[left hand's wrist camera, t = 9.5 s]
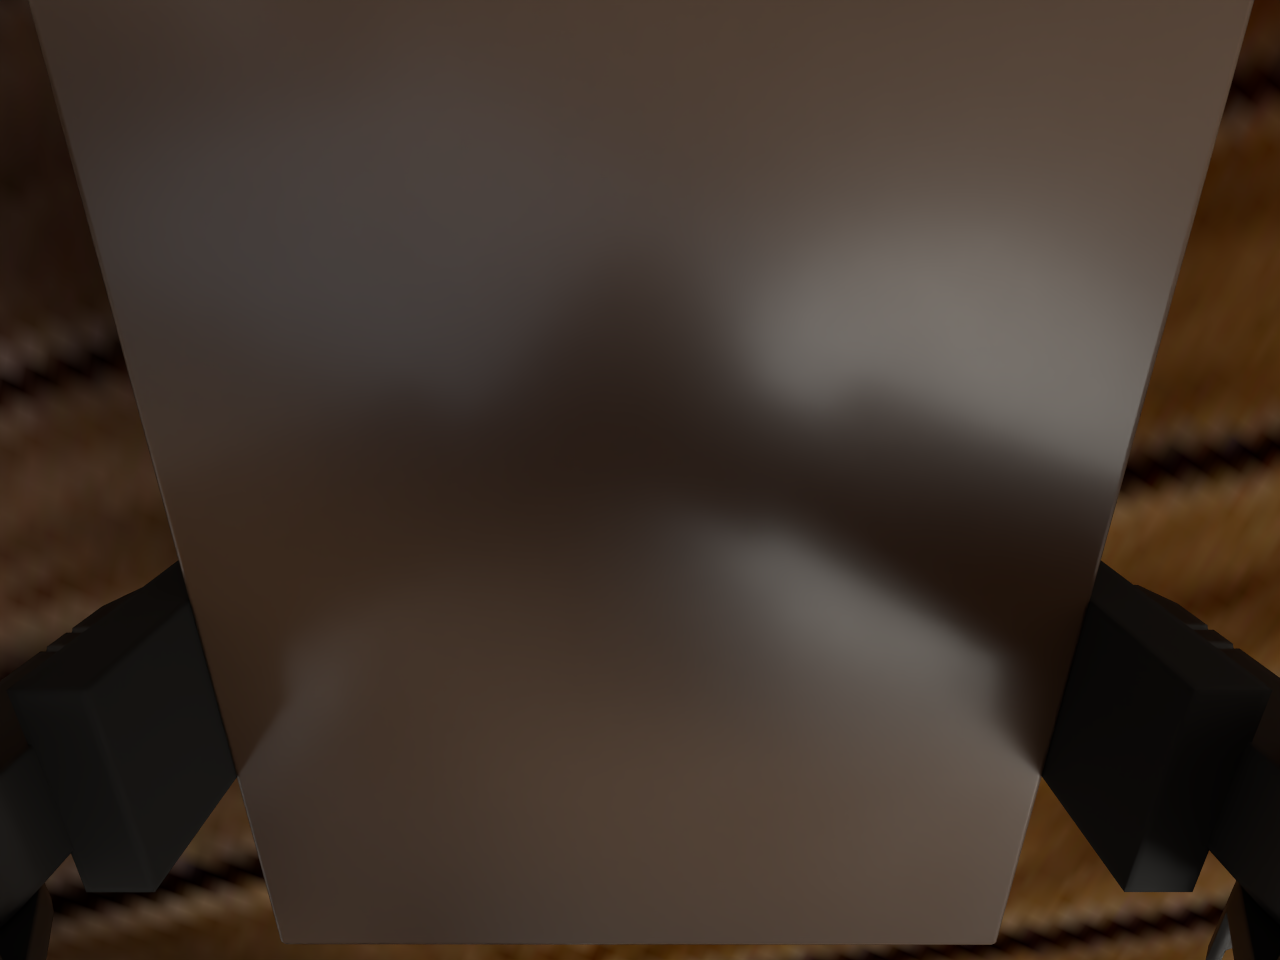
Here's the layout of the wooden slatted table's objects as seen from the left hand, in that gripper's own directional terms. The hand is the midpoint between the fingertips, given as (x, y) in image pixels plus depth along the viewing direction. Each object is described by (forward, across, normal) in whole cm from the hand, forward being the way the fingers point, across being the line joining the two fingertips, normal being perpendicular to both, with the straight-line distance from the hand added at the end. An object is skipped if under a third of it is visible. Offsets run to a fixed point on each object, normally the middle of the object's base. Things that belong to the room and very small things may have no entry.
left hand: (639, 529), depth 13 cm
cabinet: (+5, 0, -4) cm, 7 cm away
